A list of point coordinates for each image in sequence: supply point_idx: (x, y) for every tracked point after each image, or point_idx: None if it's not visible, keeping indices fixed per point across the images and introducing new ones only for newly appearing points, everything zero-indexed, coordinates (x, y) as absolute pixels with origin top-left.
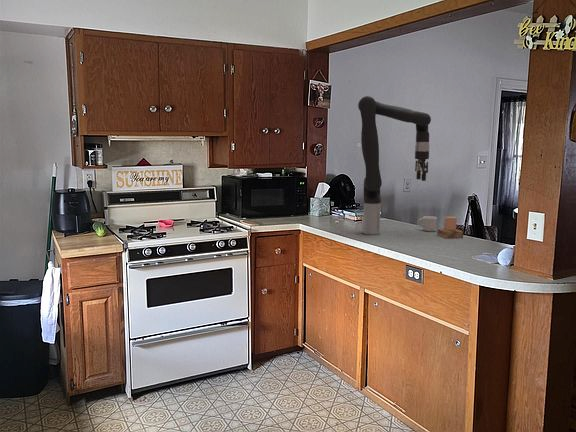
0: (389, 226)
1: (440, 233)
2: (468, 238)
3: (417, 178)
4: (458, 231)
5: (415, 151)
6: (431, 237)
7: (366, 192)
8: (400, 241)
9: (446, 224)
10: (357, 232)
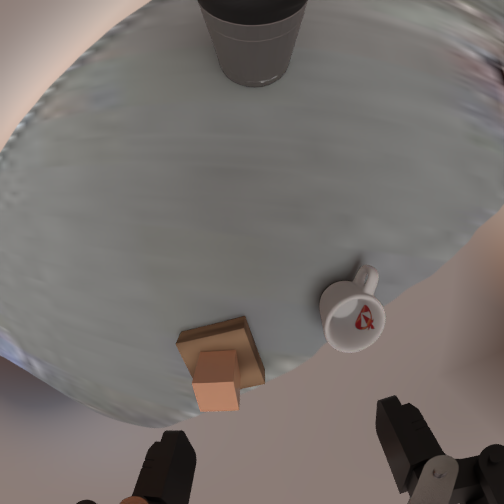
0: (426, 152)
1: (217, 328)
2: None
3: (380, 411)
4: None
5: None
6: (194, 288)
7: None
8: (100, 167)
9: (204, 364)
10: None
